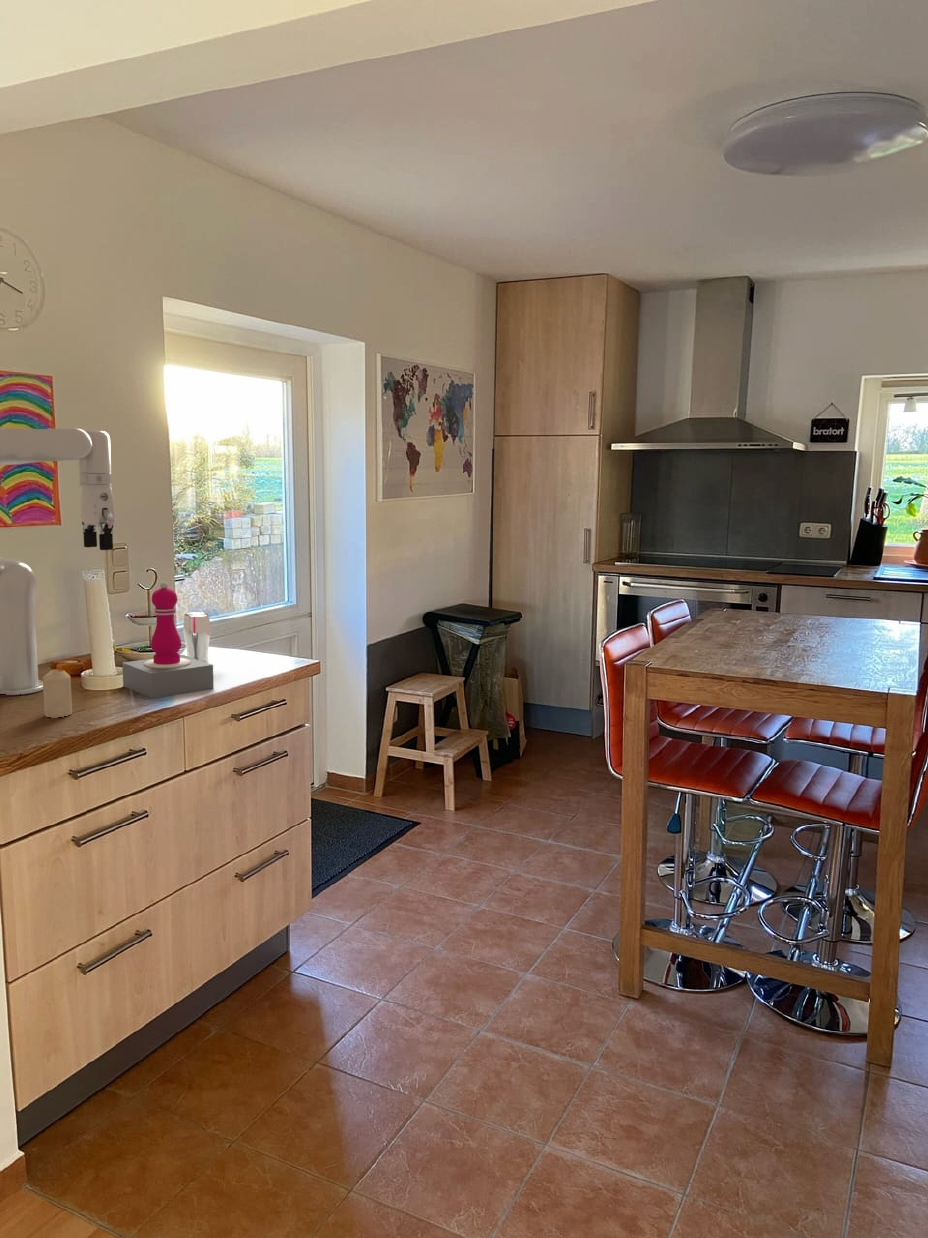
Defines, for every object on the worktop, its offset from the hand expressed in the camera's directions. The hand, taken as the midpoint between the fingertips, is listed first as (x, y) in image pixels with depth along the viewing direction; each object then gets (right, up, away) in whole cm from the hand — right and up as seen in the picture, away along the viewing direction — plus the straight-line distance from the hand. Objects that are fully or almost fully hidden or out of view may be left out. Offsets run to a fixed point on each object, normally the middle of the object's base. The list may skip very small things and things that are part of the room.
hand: (98, 548), depth 230 cm
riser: (+20, -35, -5) cm, 41 cm away
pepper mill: (+20, -29, -6) cm, 36 cm away
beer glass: (+21, -32, +16) cm, 41 cm away
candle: (+4, -39, -32) cm, 51 cm away
